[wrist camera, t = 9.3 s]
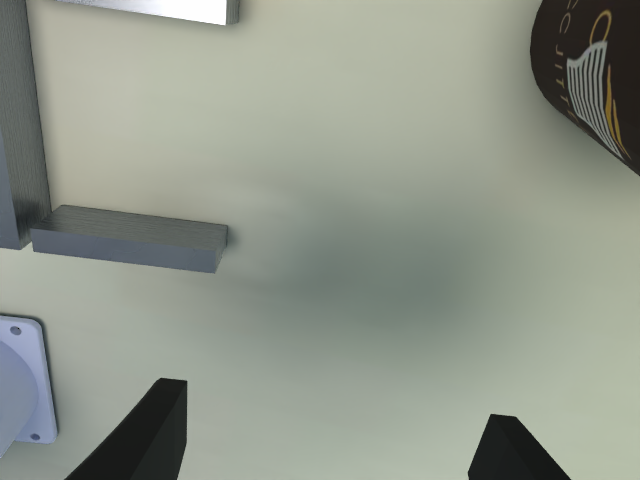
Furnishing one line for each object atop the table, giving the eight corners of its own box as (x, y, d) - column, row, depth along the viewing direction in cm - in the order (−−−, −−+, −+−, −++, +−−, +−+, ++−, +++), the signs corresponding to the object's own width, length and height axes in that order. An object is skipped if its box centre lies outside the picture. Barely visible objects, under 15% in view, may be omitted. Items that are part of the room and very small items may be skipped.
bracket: (28, 221, 20) (-6, 247, 18) (-11, -46, 16) (-63, -54, 14) (226, 246, 21) (214, 273, 19) (239, -9, 17) (226, -11, 14)
